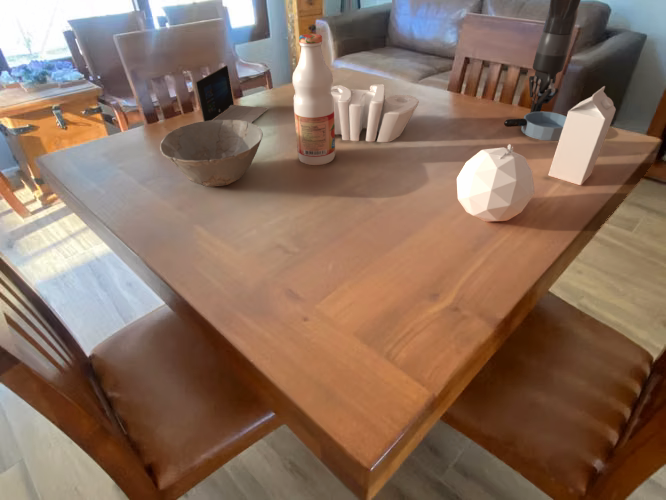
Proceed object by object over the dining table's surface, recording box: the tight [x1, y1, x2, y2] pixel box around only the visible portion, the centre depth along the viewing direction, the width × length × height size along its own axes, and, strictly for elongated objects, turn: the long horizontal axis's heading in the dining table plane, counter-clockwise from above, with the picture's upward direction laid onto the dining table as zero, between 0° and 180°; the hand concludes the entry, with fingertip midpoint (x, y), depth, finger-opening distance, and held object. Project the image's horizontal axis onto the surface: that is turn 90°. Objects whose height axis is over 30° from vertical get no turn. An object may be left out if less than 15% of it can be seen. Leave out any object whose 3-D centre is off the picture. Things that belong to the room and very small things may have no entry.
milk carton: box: [547, 85, 617, 186], centre depth 91 cm, size 7×7×19 cm
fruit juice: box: [291, 33, 336, 166], centre depth 99 cm, size 9×9×28 cm
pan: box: [503, 110, 567, 142], centre depth 115 cm, size 18×12×4 cm
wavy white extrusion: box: [293, 83, 420, 143], centre depth 118 cm, size 35×16×10 cm, turn 77°
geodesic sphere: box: [456, 143, 536, 223], centre depth 81 cm, size 15×14×14 cm
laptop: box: [195, 64, 269, 124], centre depth 126 cm, size 18×12×13 cm
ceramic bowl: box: [159, 120, 264, 188], centre depth 97 cm, size 22×23×10 cm
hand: (534, 115), depth 122 cm, fingers closed
